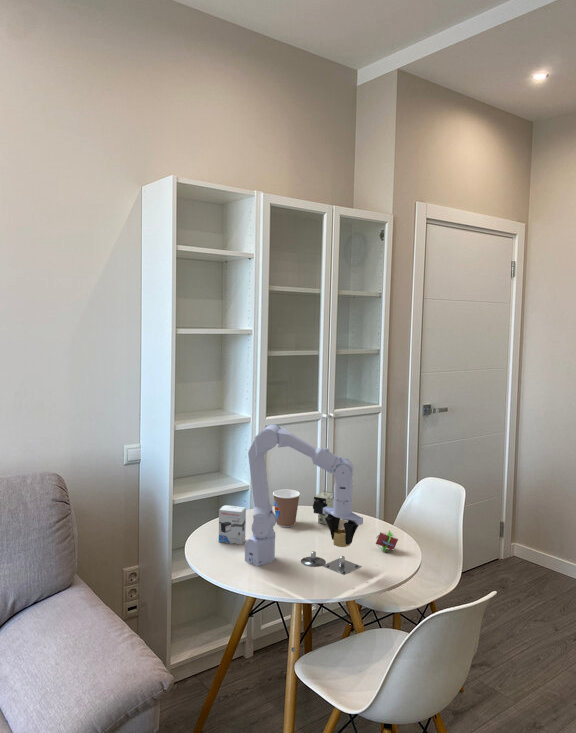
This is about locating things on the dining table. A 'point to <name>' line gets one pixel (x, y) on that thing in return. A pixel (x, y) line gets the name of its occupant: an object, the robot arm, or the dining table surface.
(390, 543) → the geometric puzzle
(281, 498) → the coffee cup
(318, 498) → the pneumatic valve
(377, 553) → the dining table surface
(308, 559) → the stand
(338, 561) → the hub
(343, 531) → the brass collar
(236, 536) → the ink box
